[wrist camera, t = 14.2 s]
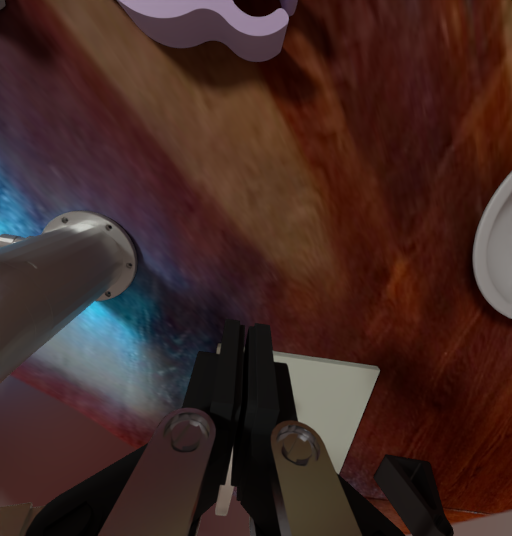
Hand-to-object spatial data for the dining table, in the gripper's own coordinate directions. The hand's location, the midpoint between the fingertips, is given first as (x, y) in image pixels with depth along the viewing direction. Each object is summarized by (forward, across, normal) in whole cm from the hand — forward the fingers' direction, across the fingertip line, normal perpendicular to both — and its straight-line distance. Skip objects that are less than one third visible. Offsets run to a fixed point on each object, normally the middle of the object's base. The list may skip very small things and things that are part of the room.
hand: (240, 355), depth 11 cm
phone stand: (+29, -36, +42) cm, 63 cm away
